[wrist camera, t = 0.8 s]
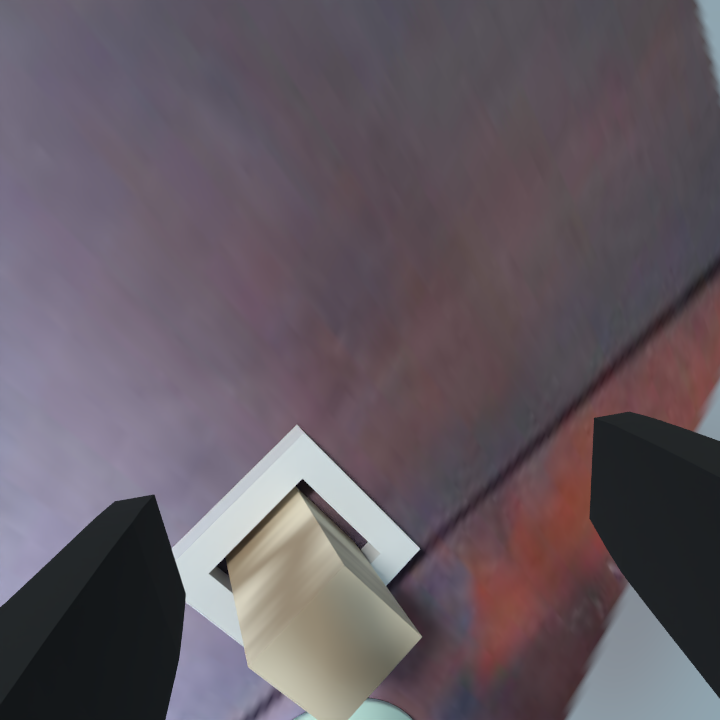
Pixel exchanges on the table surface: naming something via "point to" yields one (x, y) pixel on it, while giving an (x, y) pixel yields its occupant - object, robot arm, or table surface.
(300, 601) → the maple block
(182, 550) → the frame
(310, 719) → the coaster
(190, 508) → the table surface
